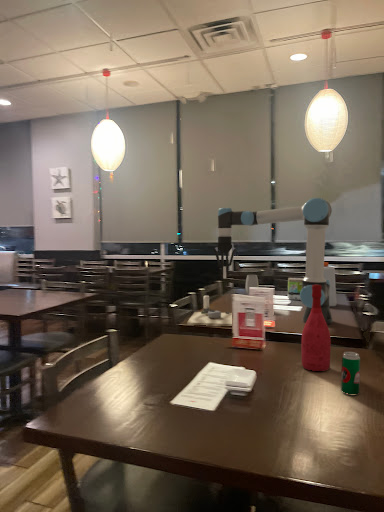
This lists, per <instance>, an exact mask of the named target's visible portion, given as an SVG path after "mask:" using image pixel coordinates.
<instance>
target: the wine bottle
mask: <svg viewBox="0 0 384 512" xmlns="http://www.w3.org/2000/svg"><path fill="white" fill-rule="evenodd" d="M321 289H322V286H321V285H319V284H314V285H312V297H313V302H312V309H311V313H310V315H309V317H308V319H307V321H306V322H304V323H305V324H304V327H303V329H302V332H301V345H300V347H301V350H300V351H301V366H302V368H304V369H306V370H307V369H308V370H307V371H310V370H312V371H311V372H315V371H323V372H327V371H328V370H329V369H330V365H331V350H332V349H331V346H332V345H331V344H332V341H331V339H332V338H331V333H330V330H329V326H328V324H327V323H326V321H325V319H324V316H323V314H322V310H321V299H320V298H321V296H322V295H321Z"/></svg>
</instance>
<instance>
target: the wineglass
mask: <svg viewBox="0 0 384 512" xmlns="http://www.w3.org/2000/svg"><path fill="white" fill-rule="evenodd" d="M259 284H260V283H259V279H258V275H257V274H247V275H246V279H245V292H246V294H248V296H249V287H260V286H259Z"/></svg>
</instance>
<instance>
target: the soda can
mask: <svg viewBox="0 0 384 512" xmlns="http://www.w3.org/2000/svg"><path fill="white" fill-rule="evenodd" d="M359 355H360V354H359V353H357V352H354V351H344V352H343V354H342V355H341V384H340V388H341V389H340V390H341V392H342V391H343V392H345V393H348V394H358V393H359V394H360V388H361V387H360V385H361V384H360V382H361V381H360V380H361V375H360V374H361V357H360V356H359ZM343 392H342V393H343ZM359 394H358V395H359Z"/></svg>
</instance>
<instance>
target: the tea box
mask: <svg viewBox="0 0 384 512" xmlns="http://www.w3.org/2000/svg"><path fill="white" fill-rule="evenodd" d="M303 278H304V277H288V278H287V299H288V298H289V299H288V300H295V301H296V300H297V301H299V300H300V301H301V299H300V292H301V290H302V279H303Z"/></svg>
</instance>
